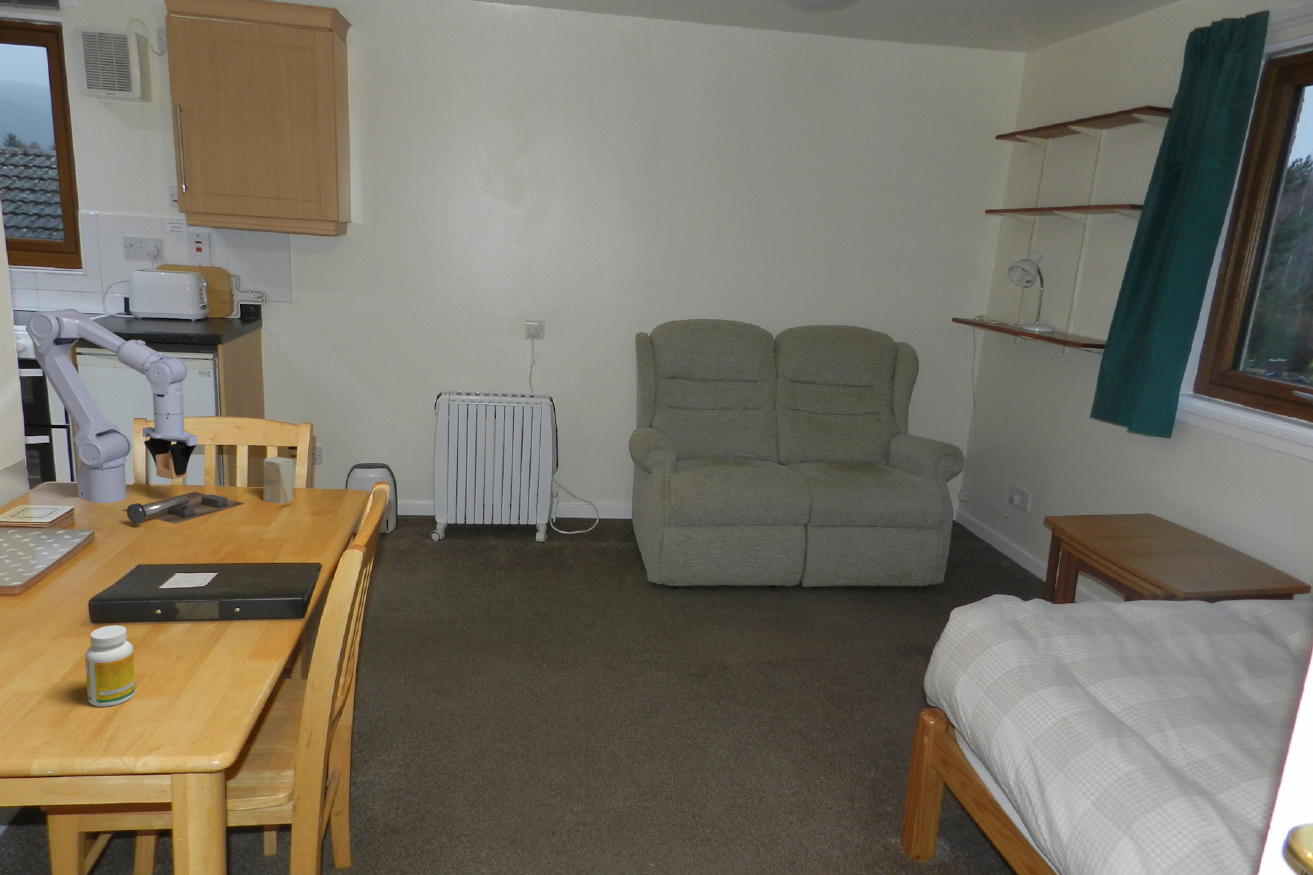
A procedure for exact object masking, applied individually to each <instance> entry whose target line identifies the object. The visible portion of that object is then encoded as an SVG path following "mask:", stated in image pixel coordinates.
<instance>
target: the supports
mask: <svg viewBox="0 0 1313 875" xmlns="http://www.w3.org/2000/svg"><path fill="white" fill-rule="evenodd" d="M227 499H228V497H226V496H220V495H218V494H217V495H215V494H212V493H210V494H206V496H202V505H205V506H210V507H214V508H222V507H225V506H227ZM168 514H170V515H174V516H178V517H182V518H187V517H190V516H194V515H195V507H193V506H189V505H182V506H178V507H174V508H171V509H168Z"/></svg>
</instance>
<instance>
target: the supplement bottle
mask: <svg viewBox="0 0 1313 875" xmlns="http://www.w3.org/2000/svg"><path fill="white" fill-rule="evenodd" d="M127 633H128V632H127V628H126V627H125V626H123V625H116V624H115V625H105V626H102V627H100V628H96V629H94V630H93V631H92V632H90V645H91V646H90V647H89V648H87V649H86V651H85V656H84V657H85V658H84V660H85V673H86V674H85V675H86V690H87V693H86V694H87V701H88V702H89V704H90V705H92V706H93V707H102V708H103V707H104V708H105V707H111V706H118V705H121V704H123V703H126V702H127V701H129V700H130V699H131V698H132V697H133V696H134V695H135V693H136V681H135V661H134V659H135V658H134V657H135V656H134V647H133V645H132V643H131V642H130V641H128V640H127V638H128V635H127Z"/></svg>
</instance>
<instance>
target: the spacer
mask: <svg viewBox="0 0 1313 875" xmlns="http://www.w3.org/2000/svg"><path fill="white" fill-rule="evenodd" d="M155 467H156V468H155V470H156V477H160V478H164V479H170V480H177V479H181V478H186V477H187V476H188V475H187V474H188V473H187V472H188V470H186V473H185V474H181V475H176V474H175V471H174V464H173V458H172V455H171V453H170V451H169V452H168V453H164V454H159V455H156V465H155Z"/></svg>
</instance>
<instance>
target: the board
mask: <svg viewBox="0 0 1313 875" xmlns="http://www.w3.org/2000/svg"><path fill="white" fill-rule="evenodd" d="M206 495H207V494H205V493H201V492H197V491H192V492H188V493H184V494H181V495H176V496H173V497H168V498H165V499H161V500H157V501H153V502H149V503H145V504H141V505H142V506H143V507H145V506H149V505H153V504H157V503H160V502H164V501H168V500H172V499H176V498H180V497H183V496H187V497H188V499H189V503H188V504H185V505H189V506H193V507H195V515H194V516H190V517H187V518H182V517H178V516H174V515H170V514H168V509H167V510H163V511H160V512H156V513H152V514H149V515H146V518H151V519H154V520H159V521H163V522H165V523H166V522H168V523H171V524H174V525H175V524H179V523H180V524H181V523H183V522H187V521H190V520H192V519H193V520H194V519H197V518H199V517H203V516H207V515H210V514H213V513H217V512H221V511H223V510H227V509H231V508H234V507H239V506H242V505H244V504H246V503H245V502H241V501H237V500H232V499H229V498H227V506H225V507H222V508H214V507H210V506H205V505H202V496H206ZM121 511H122V512H123V511H124V512H126V513H127V508H126V509H122V510H121Z"/></svg>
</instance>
